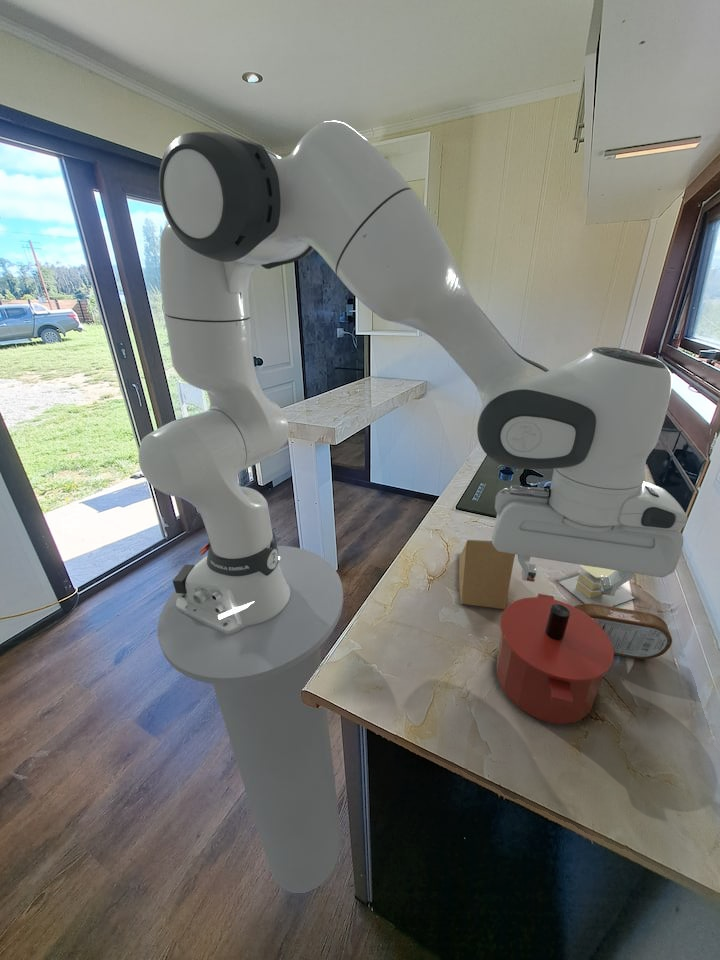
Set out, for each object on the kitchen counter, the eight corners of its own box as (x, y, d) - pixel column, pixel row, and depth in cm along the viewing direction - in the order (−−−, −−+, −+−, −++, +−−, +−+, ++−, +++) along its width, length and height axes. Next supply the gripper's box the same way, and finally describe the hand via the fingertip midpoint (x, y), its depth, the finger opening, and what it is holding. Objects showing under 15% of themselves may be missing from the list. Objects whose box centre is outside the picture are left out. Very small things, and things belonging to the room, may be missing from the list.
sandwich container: (497, 559, 86) (506, 501, 79) (506, 609, 72) (518, 544, 66) (458, 555, 88) (463, 498, 81) (459, 603, 74) (466, 539, 68)
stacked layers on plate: (595, 612, 71) (603, 589, 69) (558, 582, 79) (563, 560, 76) (635, 598, 74) (643, 575, 71) (595, 570, 81) (601, 549, 79)
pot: (496, 727, 53) (505, 681, 49) (496, 624, 69) (503, 583, 65) (607, 757, 49) (627, 711, 45) (580, 641, 65) (592, 599, 61)
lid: (500, 669, 51) (505, 639, 49) (499, 594, 64) (503, 568, 61) (625, 698, 47) (638, 667, 45) (598, 612, 59) (607, 584, 57)
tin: (657, 651, 63) (674, 613, 59) (665, 667, 60) (683, 629, 57) (557, 632, 67) (567, 596, 63) (560, 647, 64) (571, 610, 61)
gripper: (498, 495, 45) (483, 585, 51) (707, 520, 39) (662, 618, 46) (497, 473, 51) (484, 557, 57) (681, 492, 45) (645, 583, 51)
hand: (565, 584), depth 51 cm, fingers open, 8 cm apart
